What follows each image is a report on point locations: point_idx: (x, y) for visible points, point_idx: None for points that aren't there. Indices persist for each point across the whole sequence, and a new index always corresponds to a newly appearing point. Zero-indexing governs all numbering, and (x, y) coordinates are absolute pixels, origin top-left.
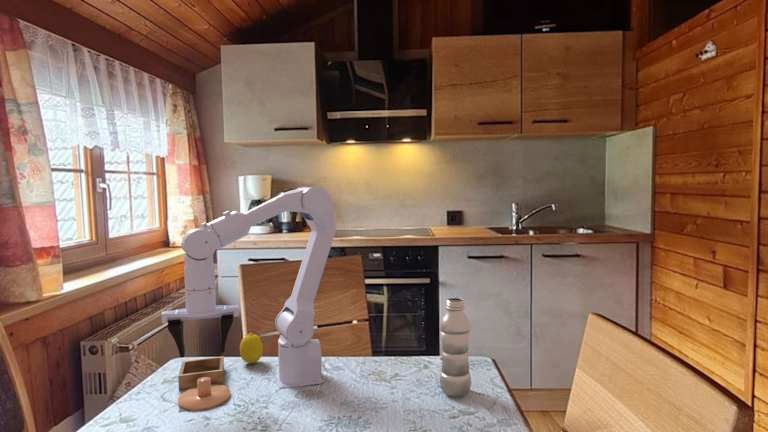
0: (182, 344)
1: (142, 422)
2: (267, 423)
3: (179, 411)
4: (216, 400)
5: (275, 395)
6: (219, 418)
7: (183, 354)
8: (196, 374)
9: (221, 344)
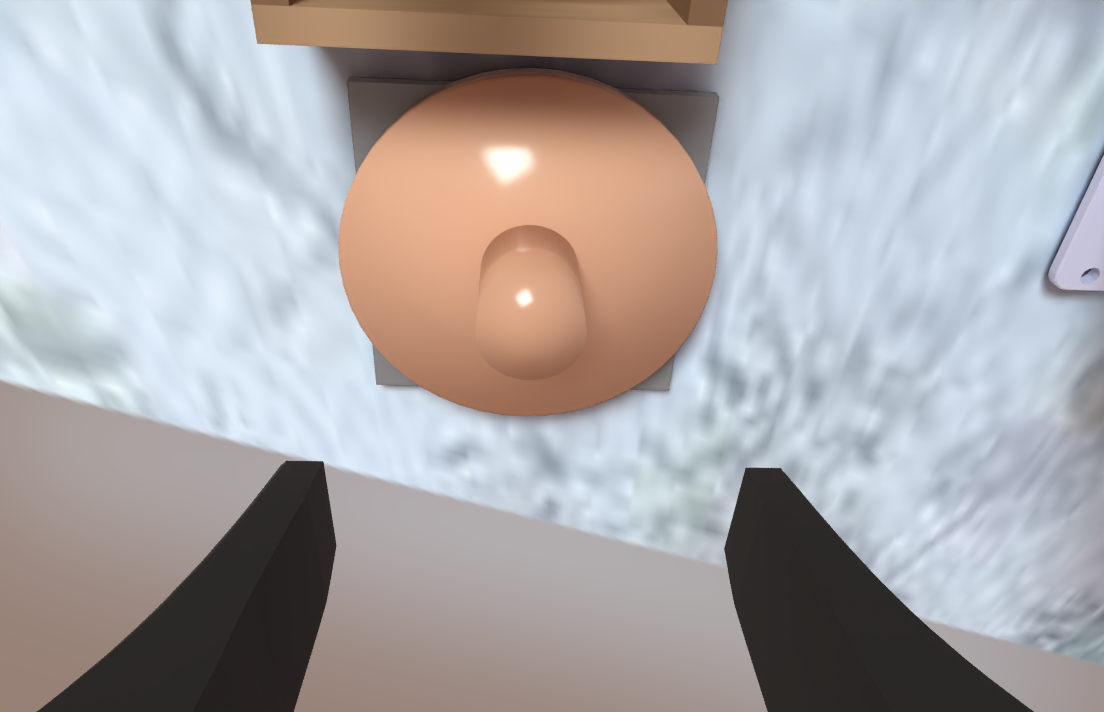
0: (292, 685)
1: (184, 401)
2: None
3: (381, 378)
4: (608, 380)
5: (980, 337)
6: (609, 482)
7: (329, 584)
8: (446, 51)
9: (756, 652)
